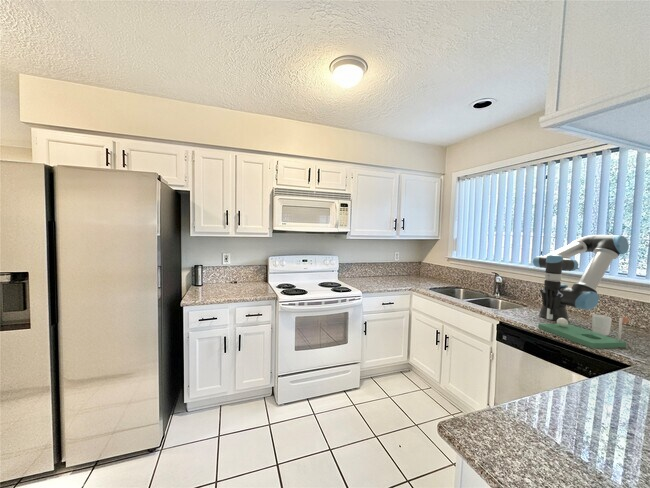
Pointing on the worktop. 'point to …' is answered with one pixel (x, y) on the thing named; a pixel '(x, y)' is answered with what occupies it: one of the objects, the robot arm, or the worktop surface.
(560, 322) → the ball
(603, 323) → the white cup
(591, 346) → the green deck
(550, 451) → the worktop surface
